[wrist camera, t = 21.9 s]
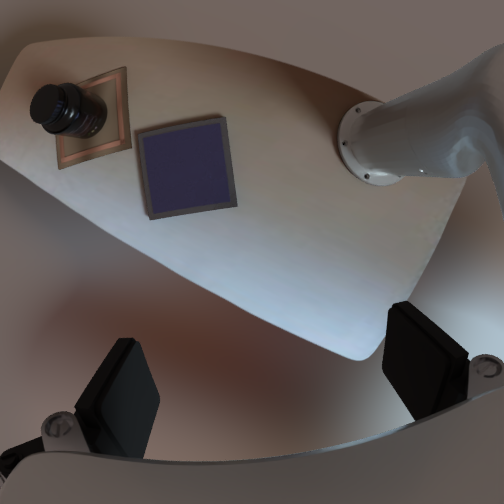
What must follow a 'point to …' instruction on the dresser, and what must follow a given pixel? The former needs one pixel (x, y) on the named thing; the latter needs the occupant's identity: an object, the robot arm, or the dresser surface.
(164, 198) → the ink pad
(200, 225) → the dresser surface
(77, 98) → the supplement bottle
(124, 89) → the marked board
